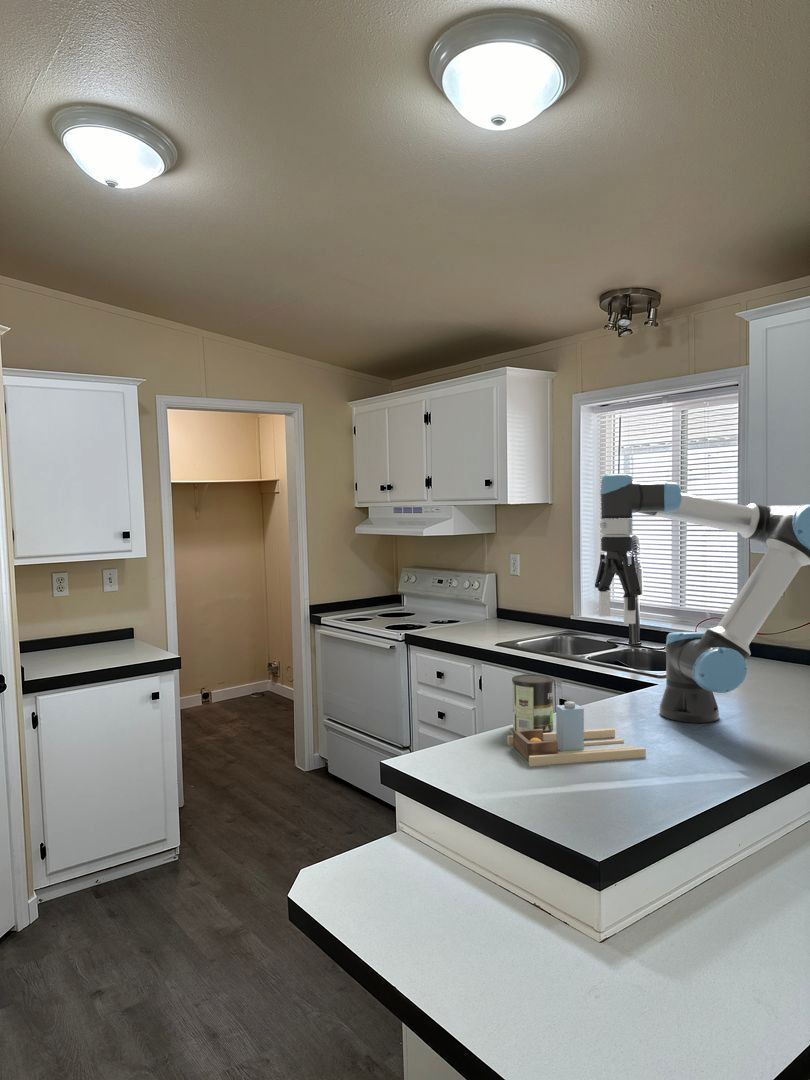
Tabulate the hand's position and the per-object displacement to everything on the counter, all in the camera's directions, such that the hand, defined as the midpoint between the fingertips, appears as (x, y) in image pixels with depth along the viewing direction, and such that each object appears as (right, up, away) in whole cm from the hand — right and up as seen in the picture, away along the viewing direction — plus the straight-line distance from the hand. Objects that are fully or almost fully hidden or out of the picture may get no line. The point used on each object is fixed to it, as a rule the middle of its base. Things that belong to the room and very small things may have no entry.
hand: (616, 619), depth 184 cm
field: (-14, -29, -16) cm, 36 cm away
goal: (-24, -29, -18) cm, 41 cm away
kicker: (-15, -28, -16) cm, 36 cm away
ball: (-24, -27, -18) cm, 40 cm away
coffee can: (-21, -29, +1) cm, 36 cm away
